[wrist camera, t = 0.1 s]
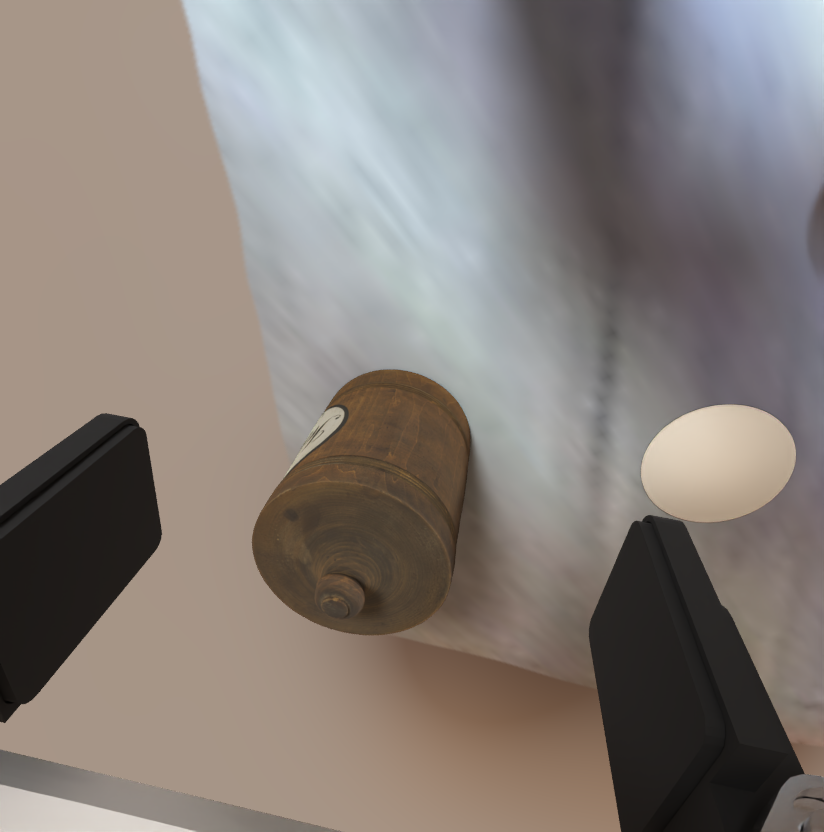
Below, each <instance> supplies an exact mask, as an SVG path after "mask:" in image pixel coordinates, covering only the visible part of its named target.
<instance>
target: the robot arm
mask: <svg viewBox="0 0 824 832" xmlns="http://www.w3.org/2000/svg"><path fill="white" fill-rule="evenodd" d="M161 535H162V530H161V524H160V517H159V511H158V505H157V499H156V492H155V486H154V480H153V473H152V467H151V461H150V455H149V449H148V442H147V436H146V432H145V430H144V429H143V428H141V427H139V424H138V423H137V421H136V420H135V419H133V418H128V417H123V416H117V415H112V414H107V413H106V414H100V415H98V416H96V417H95V418H94V419H92V420H91V421H90V422H88V423H87V424H85V425H84V426H83V427H81V428H80V429H78V430H77V431H75V432H74V433H73V434H71V435H70V436H68V437H67V438H66V439H64V440H63V441H61V442H60V443H59V444H57V445H56V446H54V447H53V448H52V449H50V450H49V451H47V452H46V453H44V454H43V455H42V456H40V457H39V458H38V459H36V460H35V461H33V462H32V463H31V464H29V465H28V466H26V467H25V468H23V469H22V470H21V471H19V472H18V473H17V474H15V475H14V476H12V477H11V478H9V479H8V480H7V481H5V482H4V483H2V484H1V485H0V722H4V723H5V722H6V721H7V720H8V719H9V718H10V716H11V715H12V714H13V713H14V712H15V711H16V709H17V708H18V707H19V706H20V705H21V704H26V703H28V702H29V701H31V700H32V699H33V698H34V697H35V696H36V695H37V694H38V693H39V692H40V691H41V689H42V688H43V687H44V686H45V684H46V683H47V682H48V681H49V680H50V678H51V677H52V676H53V675H54V673H55V672H56V671H57V670H58V669H59V667H60V666H61V665H62V664H63V663H64V661H65V660H66V659H67V658H68V656H69V655H70V654H71V653H72V652H73V650H74V649H75V648H76V647H77V645H78V644H79V643H80V642H81V641H82V639H83V638H84V637H85V636H86V635H87V633H88V632H89V631H90V630H91V628H92V627H93V626H94V624H96V622H97V621H98V620H99V619H100V617H101V616H102V615H103V614H104V613H105V611H106V610H107V609H108V608H109V607H110V605H111V604H112V603H113V602H114V600H115V599H116V598H117V597H118V596H119V594H120V593H121V592H122V591H123V589H124V588H125V587H126V586H127V585H128V583H129V582H130V581H131V580H132V578H133V577H134V576H135V575H136V574H137V572H138V571H139V570H140V569H141V568H142V566H143V565H144V564H145V563H146V561H147V560H148V559H149V558H150V557H151V555H152V554H153V553H154V552H155V550H156V549H157V547H158V545H159V543H160V540H161ZM589 641H590V647H591V653H592V659H593V665H594V671H595V677H596V683H597V689H598V694H599V701H600V706H601V712H602V719H603V725H604V730H605V736H606V743H607V748H608V755H609V761H610V767H611V772H612V779H613V784H614V790H615V796H616V803H617V809H618V815H619V821H620V827H621V832H824V777H821V776H815V775H808V774H804V771H803V769H802V767H801V765H800V763H799V761H798V758H797V756H796V754H795V752H794V750H793V748H792V746H791V743H790V741H789V739H788V737H787V735H786V733H785V730H784V728H783V726H782V724H781V722H780V720H779V718H778V715H777V713H776V711H775V709H774V707H773V705H772V702H771V700H770V698H769V696H768V694H767V692H766V690H765V687H764V685H763V683H762V681H761V679H760V677H759V674H758V672H757V670H756V668H755V666H754V664H753V662H752V659H751V657H750V655H749V653H748V651H747V649H746V646H745V644H744V642H743V640H742V638H741V636H740V634H739V631H738V629H737V627H736V625H735V623H734V621H733V618H732V617H731V615H730V613H729V612H728V610H727V609H726V608H725V607H723V606H722V605H721V603H720V601H719V599H718V597H717V595H716V592H715V590H714V588H713V586H712V583H711V581H710V579H709V577H708V575H707V572H706V570H705V568H704V566H703V564H702V561H701V559H700V557H699V555H698V553H697V550H696V548H695V546H694V544H693V542H692V539H691V537H690V535H689V533H688V531H687V528H686V526H685V525H684V523H683V522H681V521H678V520H673V519H668V518H662V517H657V516H652V515H648V516H646V517H645V518H644V519H643V521H642V522H640V521H634V522H633V523H632V525H631V527H630V529H629V532H628V534H627V536H626V539H625V541H624V543H623V546H622V548H621V550H620V553H619V555H618V557H617V560H616V562H615V564H614V567H613V569H612V571H611V574H610V576H609V578H608V581H607V583H606V585H605V588H604V590H603V592H602V595H601V597H600V599H599V602H598V604H597V607H596V609H595V611H594V614H593V616H592V618H591V621H590V627H589ZM0 832H341V831H337V830H333V829H329V828H325V827H321V826H317V825H312V824H308V823H304V822H300V821H296V820H292V819H288V818H284V817H280V816H276V815H271V814H267V813H263V812H259V811H255V810H251V809H247V808H243V807H238V806H234V805H230V804H226V803H222V802H218V801H214V800H209V799H205V798H201V797H197V796H193V795H189V794H185V793H180V792H176V791H172V790H168V789H163V788H160V787H155V786H151V785H147V784H143V783H139V782H135V781H131V780H127V779H122V778H118V777H113V776H110V775H105V774H101V773H96V772H93V771H88V770H84V769H80V768H76V767H71V766H67V765H63V764H58V763H54V762H50V761H46V760H42V759H38V758H33V757H29V756H25V755H20V754H16V753H12V752H8V751H3V750H0Z"/></svg>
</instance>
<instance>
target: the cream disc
mask: <svg viewBox="0 0 824 832" xmlns="http://www.w3.org/2000/svg"><path fill="white" fill-rule="evenodd" d="M795 460H796V449H795V444H794V441H793V438H792V436H791V434H790V433H789V431H788V430H787V428H786V427H785V426H784V425H783V424H782V423H781V422H780V421H779V420H778V419H776V418H775V417H774V416H772V415H771V414H769V413H767V412H765V411H762V410H760V409H757V408H754V407H749V406H745V405H736V404H724V405H714V406H709V407H704V408H701V409H698V410H694V411H692V412H689V413H687V414H685V415H683V416H681V417H679V418H677V419H676V420H674V421H672V422H671V423H670V424H668V425H667V426H666V427H664V428H663V429H662V430H661V431H660V432H659V433H658V434H657V435H656V436H655V437H654V439H653V440H652V441H651V443H650V444H649V446H648V448H647V450H646V452H645V454H644V457H643V460H642V465H641V479H642V483H643V486H644V489H645V491H646V493H647V495H648V496H649V498H650V499H651V500H652V501H653V503H654V504H656V505H657V506H658V507H659V508H660V509H662V510H663V511H665V512H666V513H668V514H670V515H672V516H675V517H677V518H680V519H684V520H688V521H694V522H720V521H726V520H731V519H735V518H738V517H741V516H744V515H747V514H749V513H751V512H753V511H755V510H757V509H759V508H760V507H762V506H764V505H765V504H767V503H768V502H769V501H771V500H772V499H773V498H774V497H775V496H776V495H778V493H779V492H780V491H781V490H782V489H783V488H784V486H785V485H786V483H787V482H788V481H789V479H790V477H791V475H792V472H793V469H794V466H795Z"/></svg>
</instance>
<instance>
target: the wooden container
mask: <svg viewBox="0 0 824 832" xmlns="http://www.w3.org/2000/svg"><path fill="white" fill-rule="evenodd" d="M469 454H470V429H469V425H468V422H467V419H466V416H465V414H464V412H463V410H462V408H461V407H460V405H459V404H458V402H457V401H456V400H455V398H454V397H453V396H452V395H451V394H450V393H449V392H448V391H447V390H446V389H444V388H443V387H442V386H440V385H439V384H437V383H436V382H434V381H432V380H430V379H428V378H426V377H424V376H422V375H419V374H416V373H412V372H408V371H402V370H378V371H373V372H369V373H366V374H363V375H361V376H358V377H356V378H354V379H353V380H351V381H350V382H348V383H347V384H346V385H344V386H343V387H342V388H341V389H340V390H339V391H338V392H337V394H336V395H335V396H334V398H333V399H332V401H331V402H330V404H329V405H328V407H327V408H326V410H325V411H324V413H323V414H322V416H321V417H320V418H319V420H318V422H317V423H316V425H315V426H314V428H313V429H312V431H311V433H310V434H309V436H308V438H307V439H306V441H305V443H304V444H303V446H302V448H301V450H300V452H299V453H298V455H297V457H296V459H295V460H294V462H293V464H292V465H291V467H290V468H289V470H288V472H287V473H286V475H285V477H284V478H283V480H282V481H281V483H280V484H279V485H278V487H277V488H276V489H275V490H274V492H273V493H272V495H271V496H270V498H269V500H268V501H267V503H266V504H265V506H264V508H263V509H262V511H261V513H260V515H259V517H258V519H257V522H256V524H255V527H254V531H253V536H252V548H253V554H254V559H255V562H256V565H257V567H258V570H259V572H260V574H261V576H262V577H263V579H264V581H265V582H266V584H267V585H268V586H269V588H270V589H271V590H272V591H273V592H274V594H275V595H276V596H277V597H278V598H279V599H280V600H281V601H282V602H283V603H285V604H286V605H287V606H288V607H289V608H291V609H292V610H293V611H295V612H297V613H298V614H300V615H301V616H303V617H305V618H307V619H308V620H310V621H312V622H314V623H317V624H319V625H322V626H324V627H327V628H330V629H334V630H337V631H341V632H346V633H351V634H359V635H385V634H392V633H397V632H401V631H404V630H407V629H410V628H412V627H414V626H416V625H419V624H421V623H422V622H424V621H425V620H427V619H428V618H429V617H431V616H432V615H433V614H434V613H435V612H436V611H437V610H438V609H439V608H440V607H441V605H442V604H443V602H444V600H445V599H446V596H447V594H448V591H449V588H450V584H451V580H452V576H453V571H454V565H455V554H456V544H457V538H458V532H459V525H460V518H461V512H462V507H463V501H464V496H465V488H466V480H467V471H468V461H469Z"/></svg>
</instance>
